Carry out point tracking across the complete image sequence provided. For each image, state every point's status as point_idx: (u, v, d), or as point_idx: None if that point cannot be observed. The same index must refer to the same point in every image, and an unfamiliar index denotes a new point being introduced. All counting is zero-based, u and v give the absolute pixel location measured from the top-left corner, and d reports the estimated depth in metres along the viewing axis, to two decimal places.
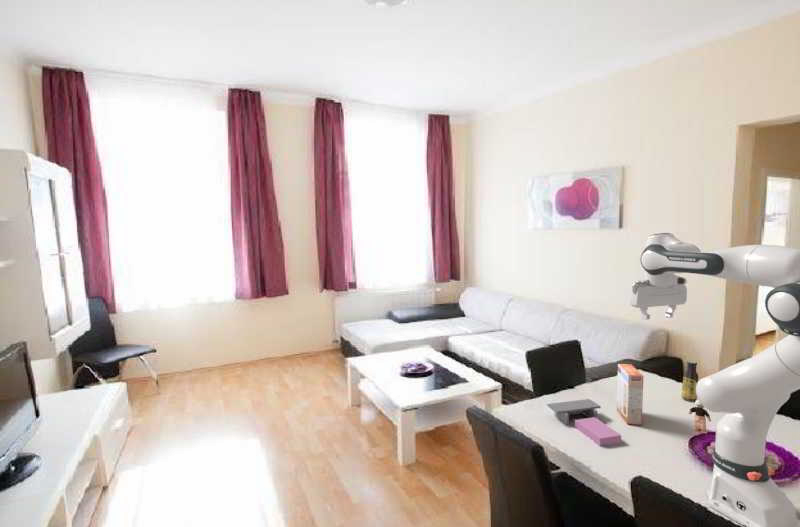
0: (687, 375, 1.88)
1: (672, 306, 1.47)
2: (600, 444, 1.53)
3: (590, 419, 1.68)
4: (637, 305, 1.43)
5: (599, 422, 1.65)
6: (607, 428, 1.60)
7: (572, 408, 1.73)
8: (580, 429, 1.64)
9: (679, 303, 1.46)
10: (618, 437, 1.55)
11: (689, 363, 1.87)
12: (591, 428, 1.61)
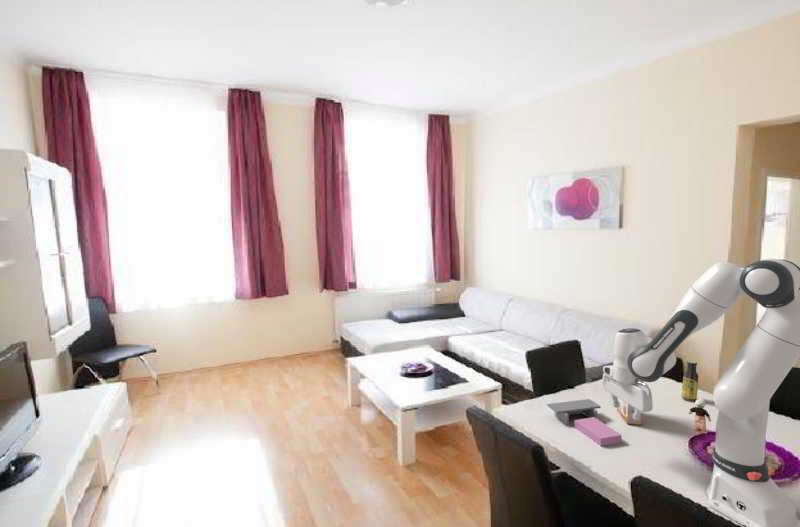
0: (687, 375, 1.88)
1: None
2: (601, 444, 1.53)
3: (589, 419, 1.68)
4: (651, 409, 1.35)
5: (599, 422, 1.65)
6: (607, 428, 1.60)
7: (572, 408, 1.73)
8: (580, 429, 1.64)
9: None
10: (618, 437, 1.55)
11: (689, 363, 1.87)
12: (592, 428, 1.61)
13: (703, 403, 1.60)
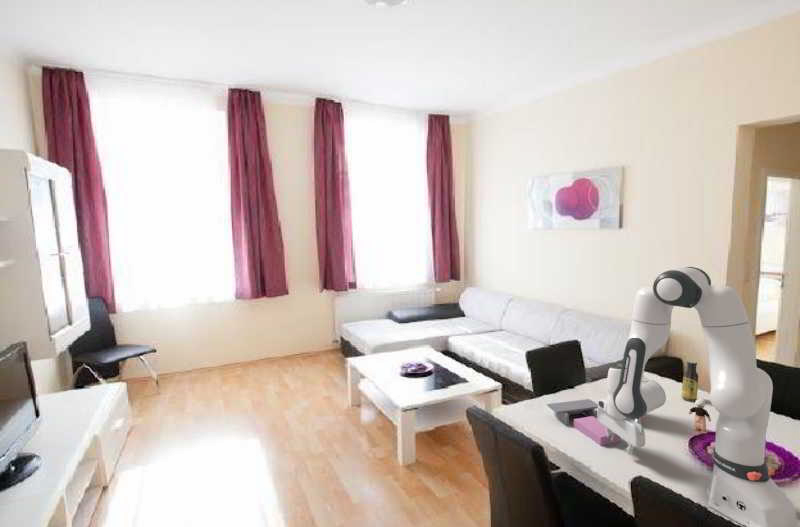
0: (687, 375, 1.88)
1: None
2: (601, 443, 1.54)
3: (588, 418, 1.68)
4: (644, 444, 1.39)
5: (598, 421, 1.66)
6: None
7: (572, 408, 1.73)
8: (579, 428, 1.65)
9: None
10: None
11: (689, 363, 1.87)
12: (591, 427, 1.61)
13: (703, 403, 1.60)
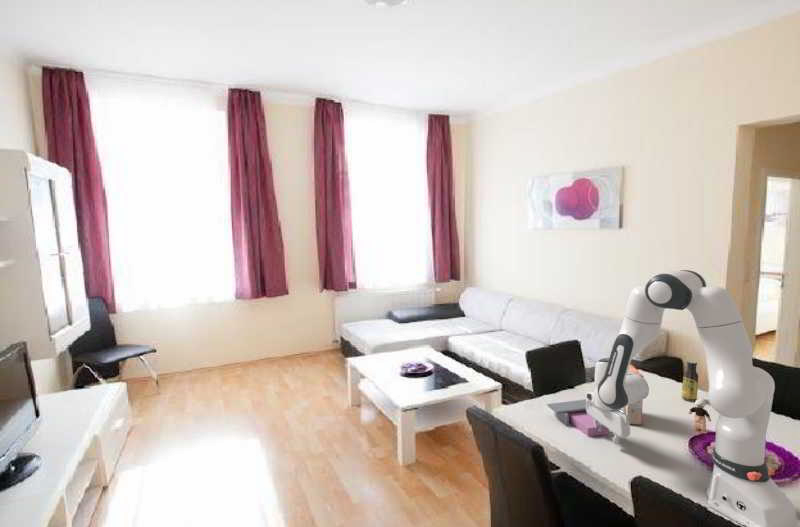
0: (687, 375, 1.88)
1: None
2: (588, 433, 1.61)
3: (580, 411, 1.75)
4: (629, 434, 1.46)
5: None
6: None
7: (572, 408, 1.73)
8: (570, 420, 1.72)
9: None
10: (605, 427, 1.62)
11: (689, 363, 1.87)
12: (581, 418, 1.68)
13: (703, 403, 1.60)
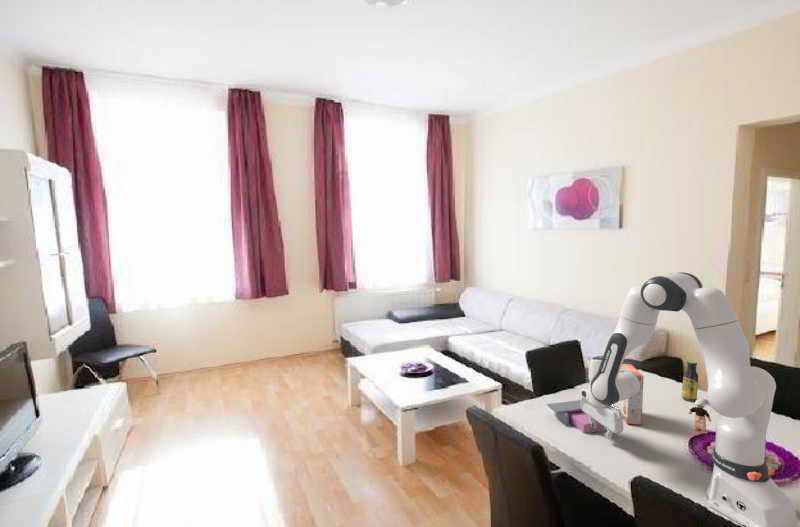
0: (687, 375, 1.88)
1: None
2: (584, 430, 1.63)
3: None
4: (622, 430, 1.49)
5: None
6: None
7: (572, 408, 1.73)
8: None
9: None
10: None
11: (689, 363, 1.87)
12: (577, 415, 1.71)
13: (703, 403, 1.60)
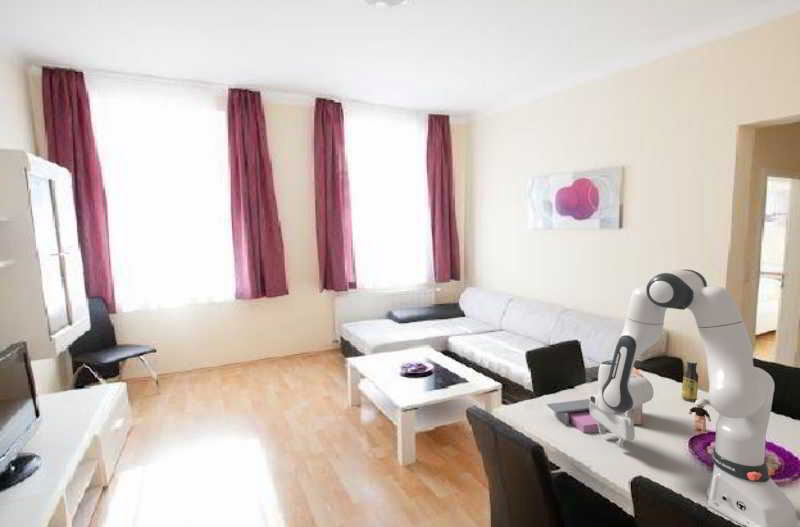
0: (687, 375, 1.88)
1: None
2: (584, 431, 1.63)
3: None
4: (634, 437, 1.44)
5: (584, 411, 1.75)
6: None
7: (572, 408, 1.73)
8: None
9: None
10: None
11: (689, 363, 1.87)
12: (577, 416, 1.71)
13: (703, 403, 1.60)
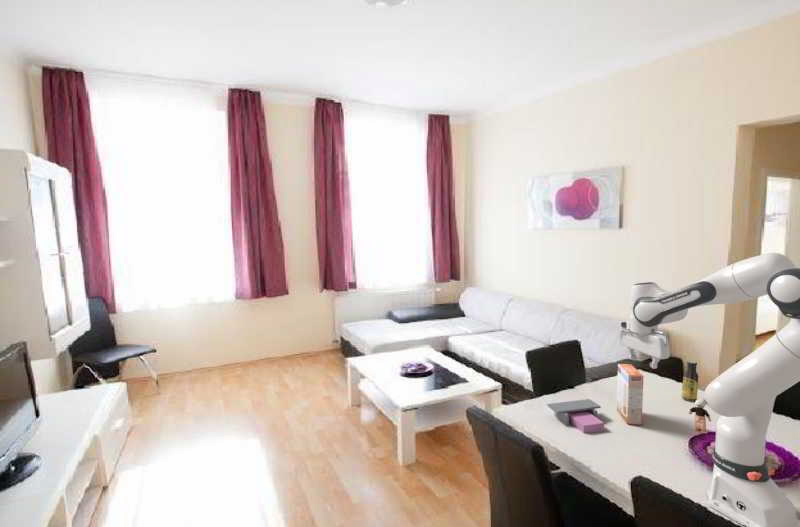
0: (687, 375, 1.88)
1: (634, 348, 1.57)
2: (584, 431, 1.63)
3: None
4: None
5: (584, 411, 1.75)
6: (591, 416, 1.70)
7: (572, 408, 1.73)
8: None
9: None
10: (601, 424, 1.65)
11: (689, 363, 1.87)
12: (577, 416, 1.71)
13: (703, 403, 1.60)
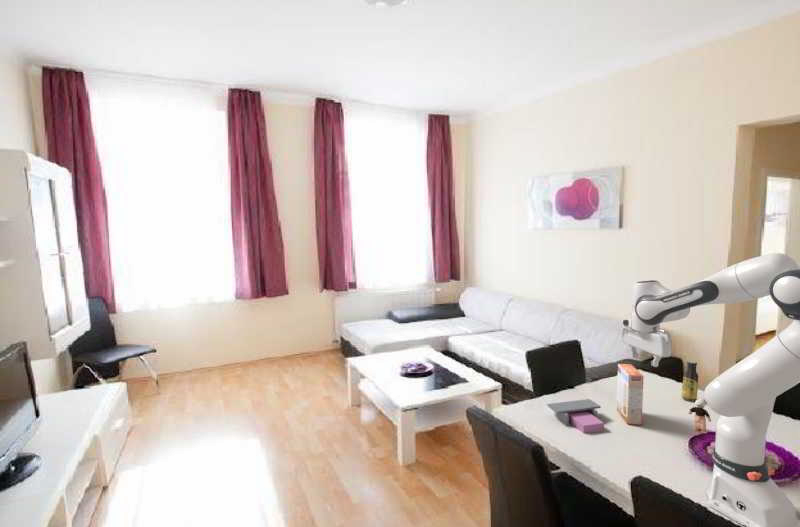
0: (687, 375, 1.88)
1: (635, 346, 1.56)
2: (584, 431, 1.63)
3: None
4: (670, 354, 1.42)
5: (584, 411, 1.75)
6: (591, 416, 1.70)
7: (572, 408, 1.73)
8: None
9: None
10: (601, 425, 1.64)
11: (689, 363, 1.87)
12: (577, 416, 1.71)
13: (703, 403, 1.60)
